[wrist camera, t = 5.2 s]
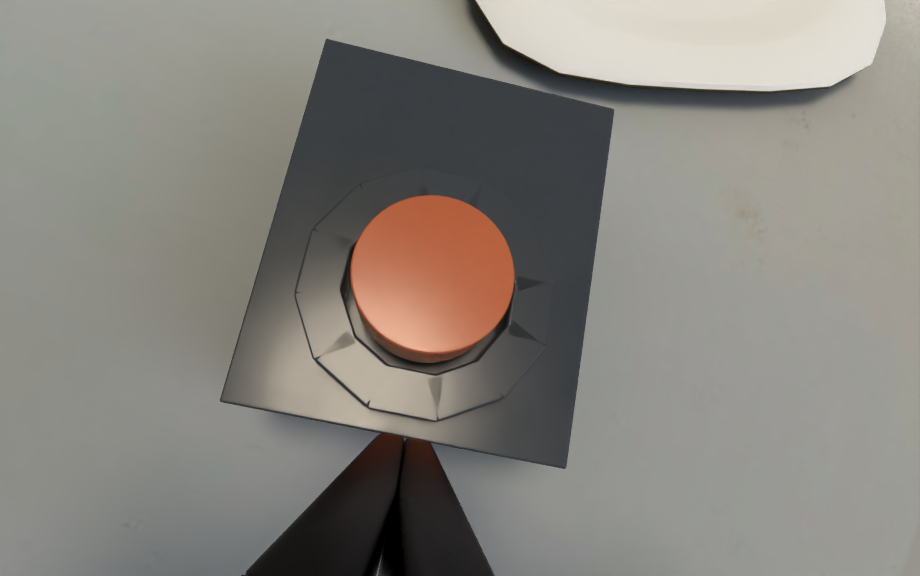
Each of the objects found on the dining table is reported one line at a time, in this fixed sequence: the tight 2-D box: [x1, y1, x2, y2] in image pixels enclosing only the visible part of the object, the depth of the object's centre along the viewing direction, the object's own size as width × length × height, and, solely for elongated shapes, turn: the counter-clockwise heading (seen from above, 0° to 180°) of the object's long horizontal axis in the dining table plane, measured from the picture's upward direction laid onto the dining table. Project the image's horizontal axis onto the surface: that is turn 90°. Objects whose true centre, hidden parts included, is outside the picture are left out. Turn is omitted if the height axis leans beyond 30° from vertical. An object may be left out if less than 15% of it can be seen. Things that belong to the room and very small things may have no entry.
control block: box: [220, 39, 614, 469], centre depth 20 cm, size 12×10×8 cm
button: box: [350, 195, 514, 363], centre depth 15 cm, size 4×4×2 cm
